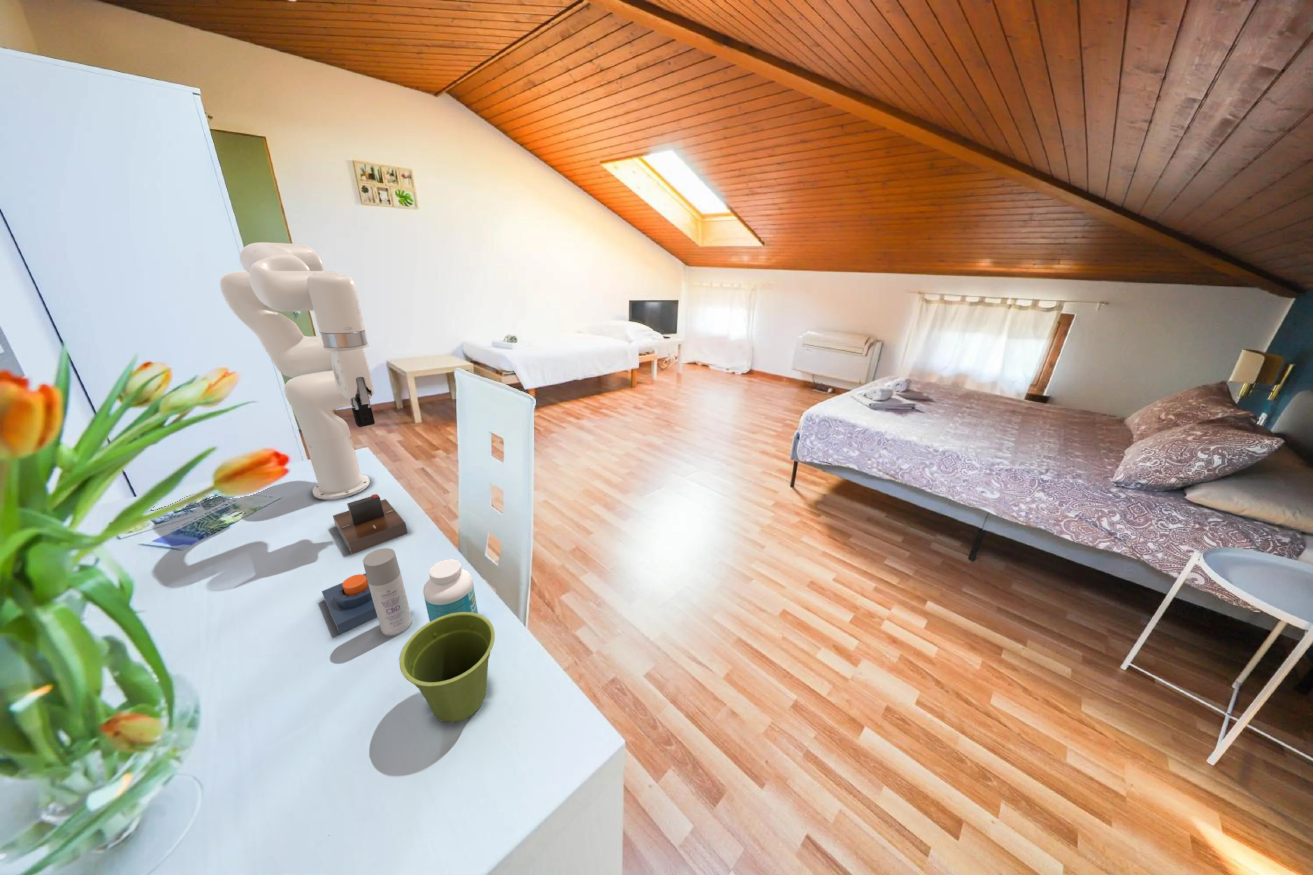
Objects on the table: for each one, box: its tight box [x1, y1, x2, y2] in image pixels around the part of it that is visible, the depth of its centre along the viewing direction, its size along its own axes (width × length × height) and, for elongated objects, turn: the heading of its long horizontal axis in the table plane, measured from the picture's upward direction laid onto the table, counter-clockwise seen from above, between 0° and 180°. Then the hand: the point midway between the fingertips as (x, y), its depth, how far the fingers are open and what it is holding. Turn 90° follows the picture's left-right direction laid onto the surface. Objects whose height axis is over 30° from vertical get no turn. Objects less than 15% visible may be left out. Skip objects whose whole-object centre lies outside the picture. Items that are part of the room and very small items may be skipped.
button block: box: [321, 572, 378, 635], centre depth 78 cm, size 11×9×4 cm
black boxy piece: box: [346, 493, 384, 525], centre depth 97 cm, size 6×2×5 cm, turn 135°
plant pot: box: [399, 612, 496, 723], centre depth 61 cm, size 12×12×11 cm
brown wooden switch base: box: [332, 498, 408, 555], centre depth 99 cm, size 14×11×3 cm
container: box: [362, 547, 413, 638], centre depth 72 cm, size 5×5×15 cm
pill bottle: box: [422, 558, 479, 622], centre depth 72 cm, size 8×7×14 cm
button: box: [342, 573, 368, 596], centre depth 77 cm, size 4×4×2 cm
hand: (365, 424), depth 93 cm, fingers closed
